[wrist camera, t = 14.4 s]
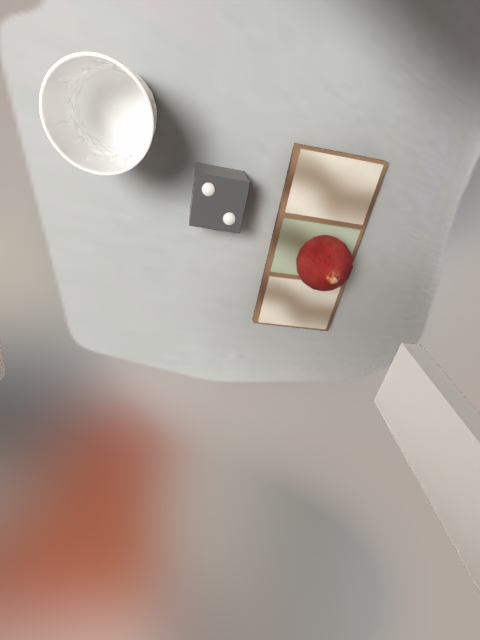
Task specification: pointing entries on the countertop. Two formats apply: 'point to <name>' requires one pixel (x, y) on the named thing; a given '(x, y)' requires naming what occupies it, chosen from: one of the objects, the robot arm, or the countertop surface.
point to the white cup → (97, 113)
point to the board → (315, 231)
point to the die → (218, 198)
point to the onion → (324, 263)
